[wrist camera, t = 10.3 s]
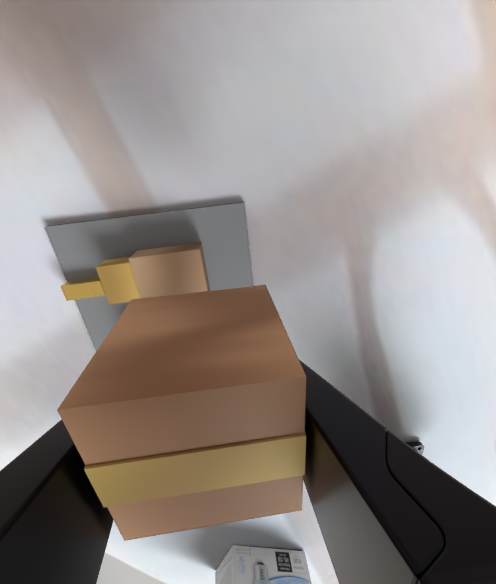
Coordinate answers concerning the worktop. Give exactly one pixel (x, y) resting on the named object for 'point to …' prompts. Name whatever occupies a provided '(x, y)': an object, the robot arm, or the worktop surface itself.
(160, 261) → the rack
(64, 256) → the base plate
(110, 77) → the worktop surface
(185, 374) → the yellow-striped wooden block
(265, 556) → the light bulb box
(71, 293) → the pointer
